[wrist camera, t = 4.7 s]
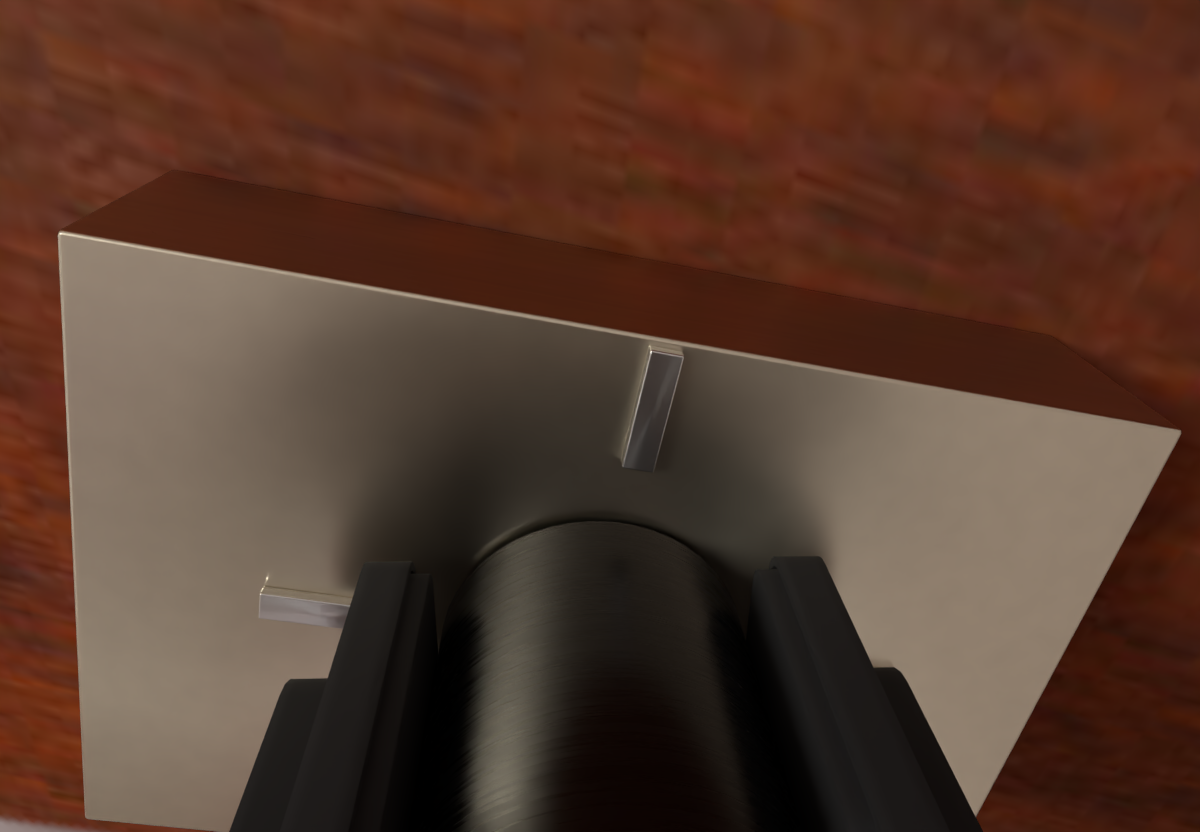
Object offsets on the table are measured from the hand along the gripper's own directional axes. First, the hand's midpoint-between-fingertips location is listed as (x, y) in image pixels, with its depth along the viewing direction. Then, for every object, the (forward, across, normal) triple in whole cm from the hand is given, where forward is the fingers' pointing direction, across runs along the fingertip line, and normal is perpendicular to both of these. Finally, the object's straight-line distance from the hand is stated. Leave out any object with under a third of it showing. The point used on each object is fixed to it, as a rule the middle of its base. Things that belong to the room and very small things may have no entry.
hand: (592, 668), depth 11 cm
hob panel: (+3, 0, 0) cm, 3 cm away
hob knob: (0, 0, 0) cm, 0 cm away
